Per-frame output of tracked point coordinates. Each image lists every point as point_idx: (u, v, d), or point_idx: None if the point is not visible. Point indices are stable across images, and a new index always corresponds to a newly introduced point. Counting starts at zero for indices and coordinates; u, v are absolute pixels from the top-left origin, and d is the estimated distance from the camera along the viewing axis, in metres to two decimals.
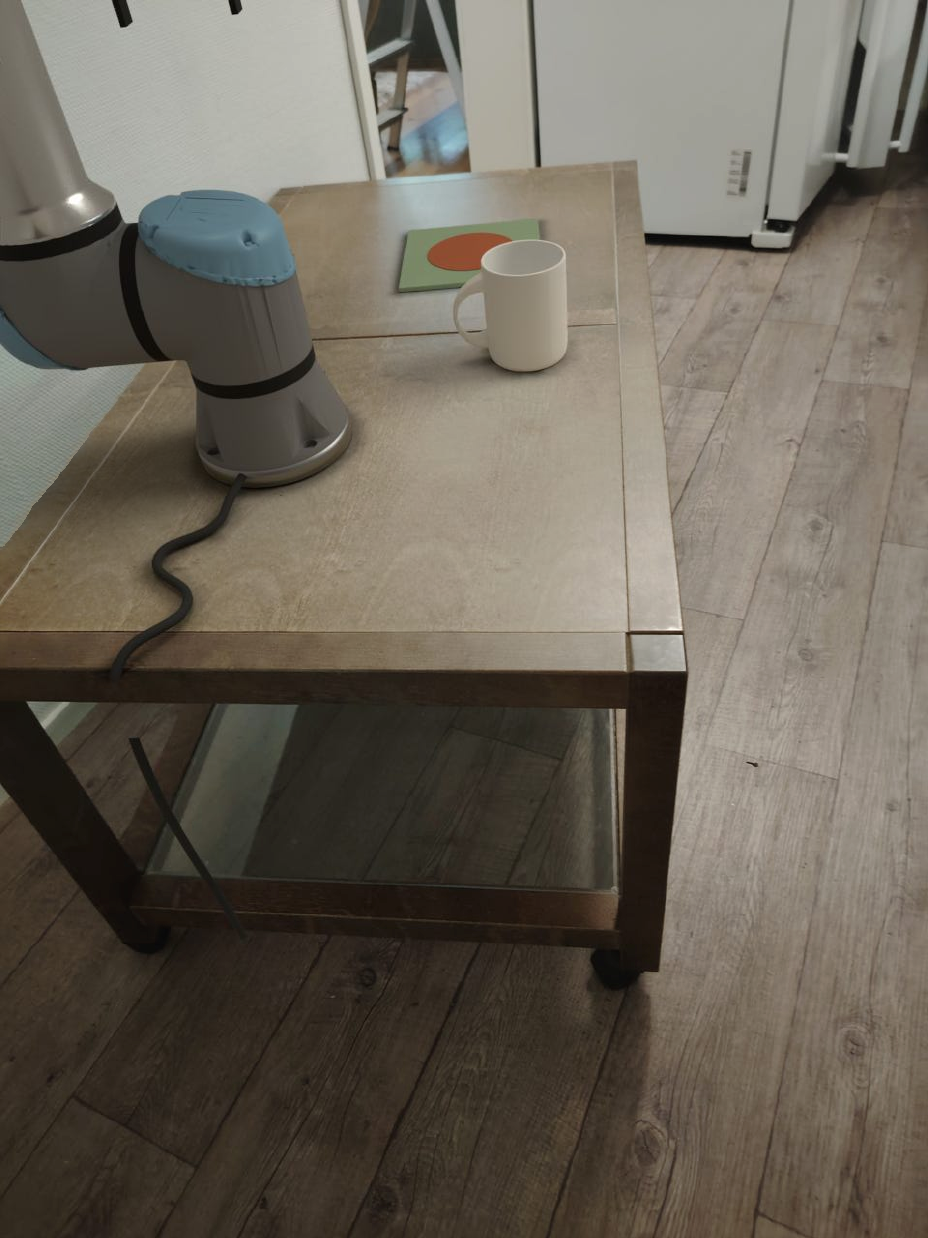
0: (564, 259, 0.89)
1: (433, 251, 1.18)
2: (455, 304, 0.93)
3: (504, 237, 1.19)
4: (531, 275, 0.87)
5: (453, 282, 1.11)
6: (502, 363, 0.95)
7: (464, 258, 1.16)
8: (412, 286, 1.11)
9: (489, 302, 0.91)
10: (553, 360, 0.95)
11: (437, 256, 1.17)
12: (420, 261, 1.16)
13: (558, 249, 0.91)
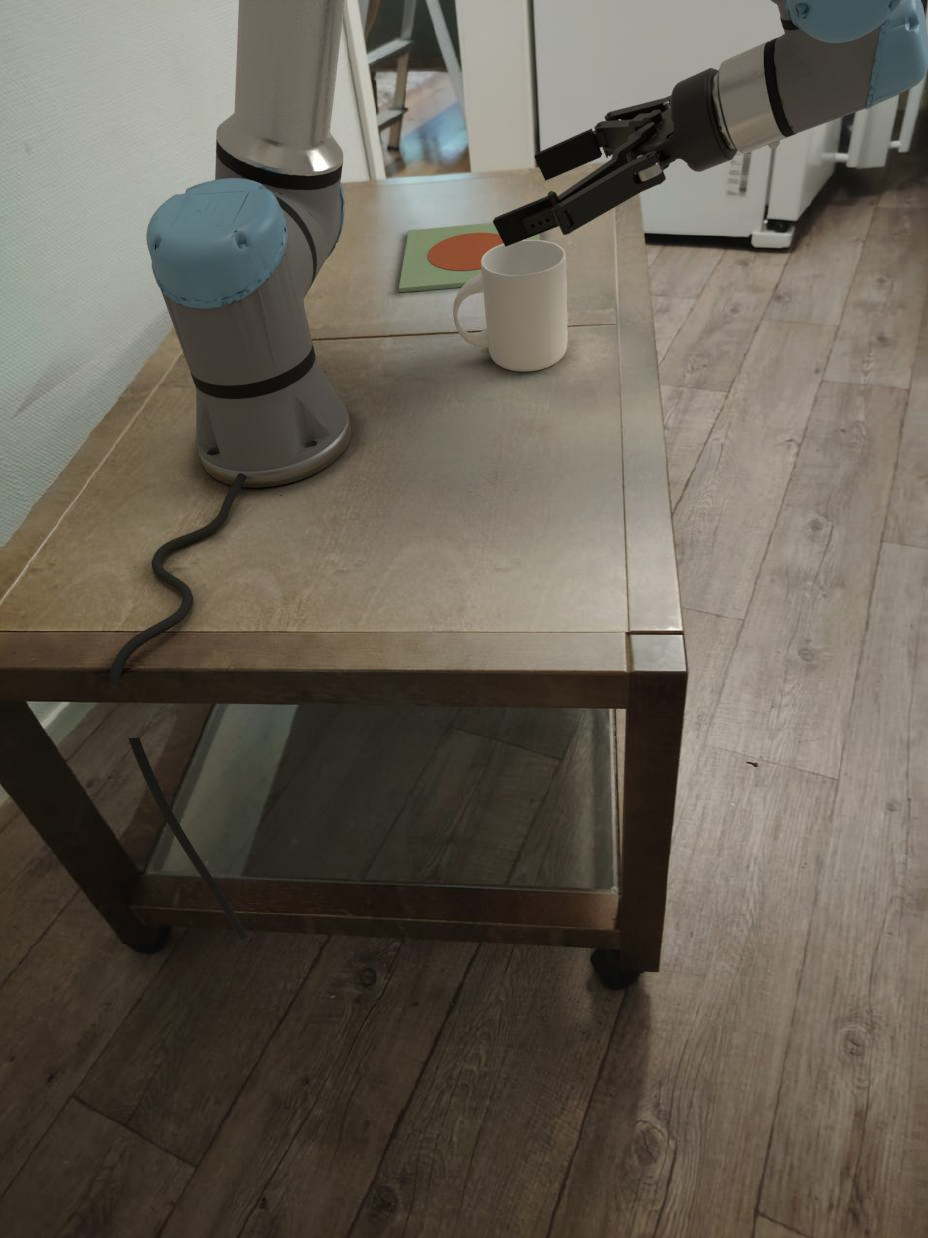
0: (564, 259, 0.89)
1: (433, 251, 1.18)
2: (455, 304, 0.93)
3: None
4: (531, 275, 0.87)
5: (453, 282, 1.11)
6: (502, 363, 0.95)
7: (464, 258, 1.16)
8: (412, 286, 1.11)
9: (489, 302, 0.91)
10: (553, 360, 0.95)
11: (437, 256, 1.17)
12: (420, 261, 1.16)
13: (558, 249, 0.91)
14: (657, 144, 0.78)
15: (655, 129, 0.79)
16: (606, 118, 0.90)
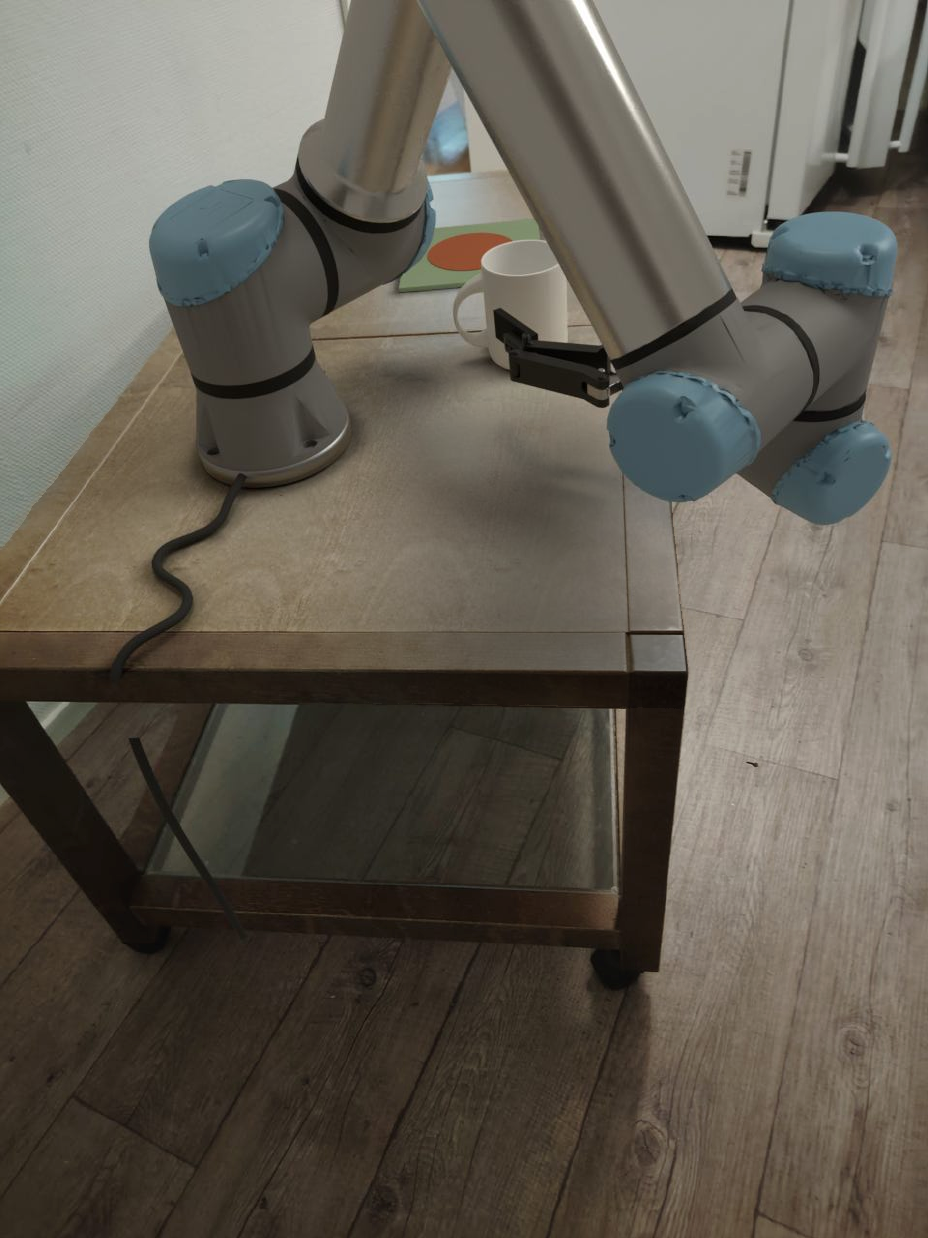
0: None
1: (433, 251, 1.18)
2: (455, 304, 0.93)
3: (504, 237, 1.19)
4: (531, 275, 0.87)
5: (453, 282, 1.11)
6: (502, 363, 0.95)
7: (464, 258, 1.16)
8: (412, 286, 1.11)
9: (489, 302, 0.91)
10: None
11: (437, 256, 1.17)
12: (420, 261, 1.16)
13: None
14: None
15: None
16: None
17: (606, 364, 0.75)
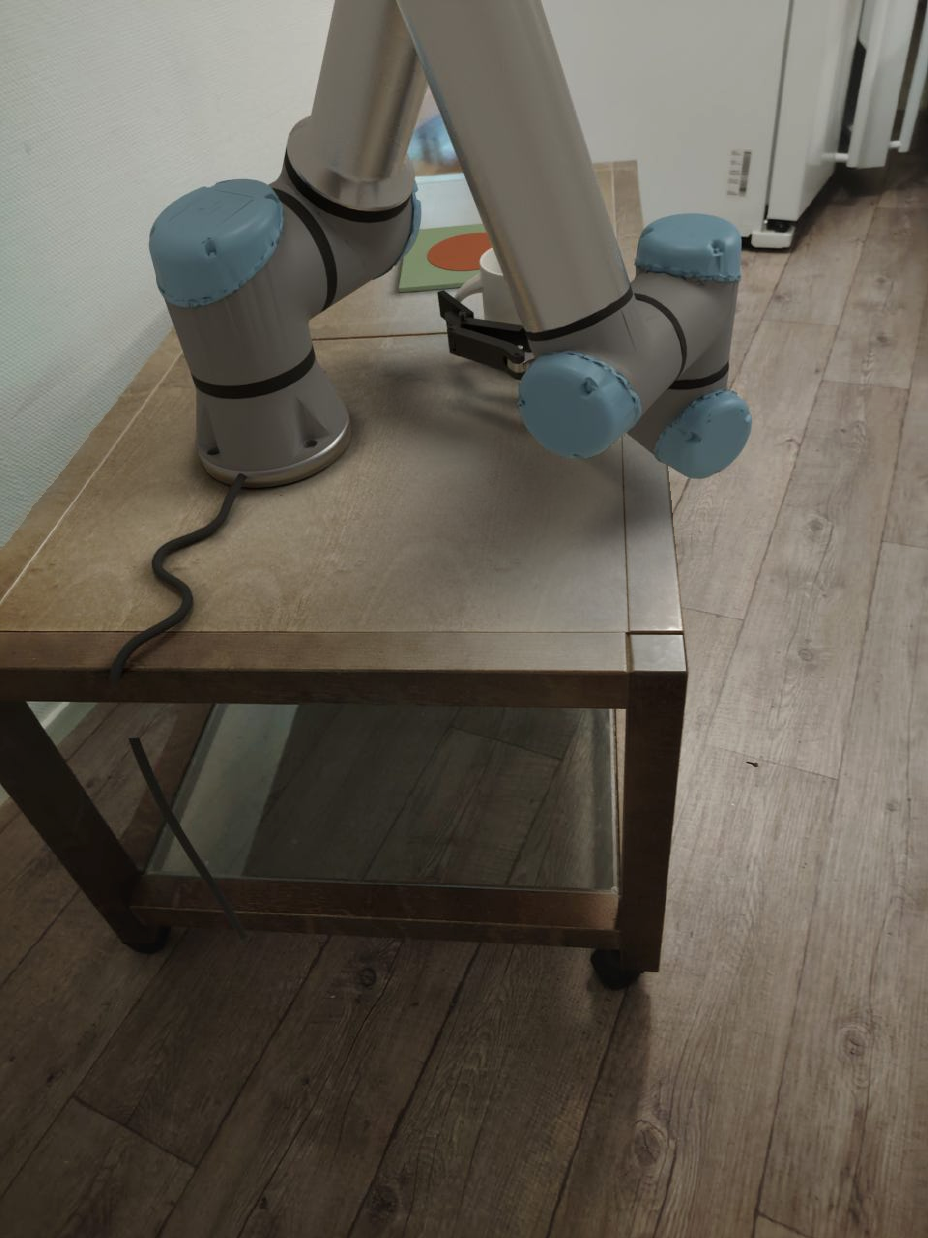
0: None
1: (433, 251, 1.18)
2: None
3: None
4: None
5: (453, 282, 1.11)
6: None
7: (464, 258, 1.16)
8: (412, 286, 1.11)
9: (488, 302, 0.91)
10: None
11: (437, 256, 1.17)
12: (420, 261, 1.16)
13: None
14: None
15: None
16: None
17: (527, 342, 0.86)
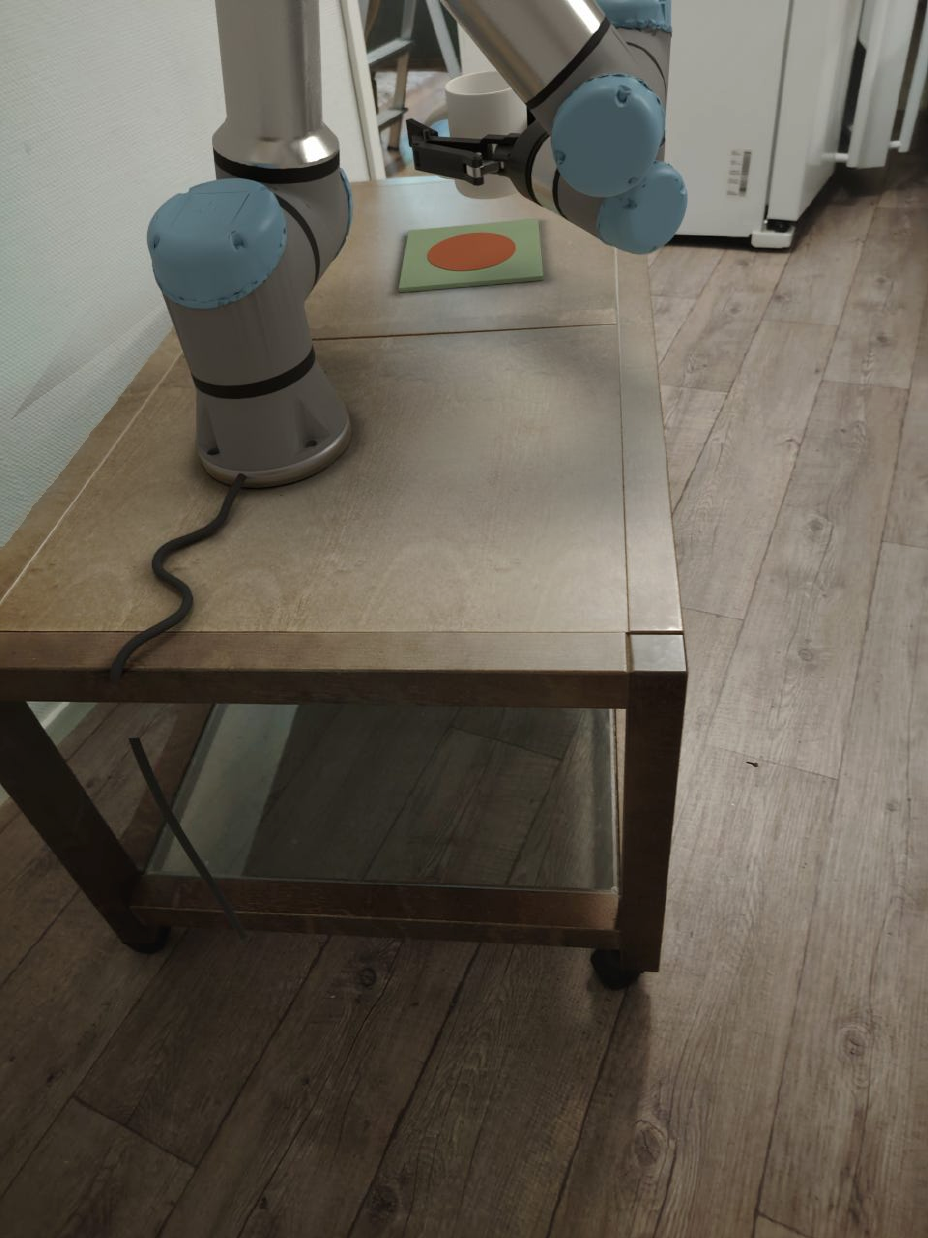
0: None
1: (433, 251, 1.18)
2: None
3: (504, 237, 1.19)
4: (491, 93, 0.92)
5: (453, 282, 1.11)
6: (466, 191, 1.00)
7: (464, 258, 1.16)
8: (412, 286, 1.11)
9: (453, 127, 0.96)
10: (515, 188, 1.00)
11: (437, 256, 1.17)
12: (420, 261, 1.16)
13: None
14: (499, 155, 0.88)
15: None
16: None
17: (487, 154, 0.91)
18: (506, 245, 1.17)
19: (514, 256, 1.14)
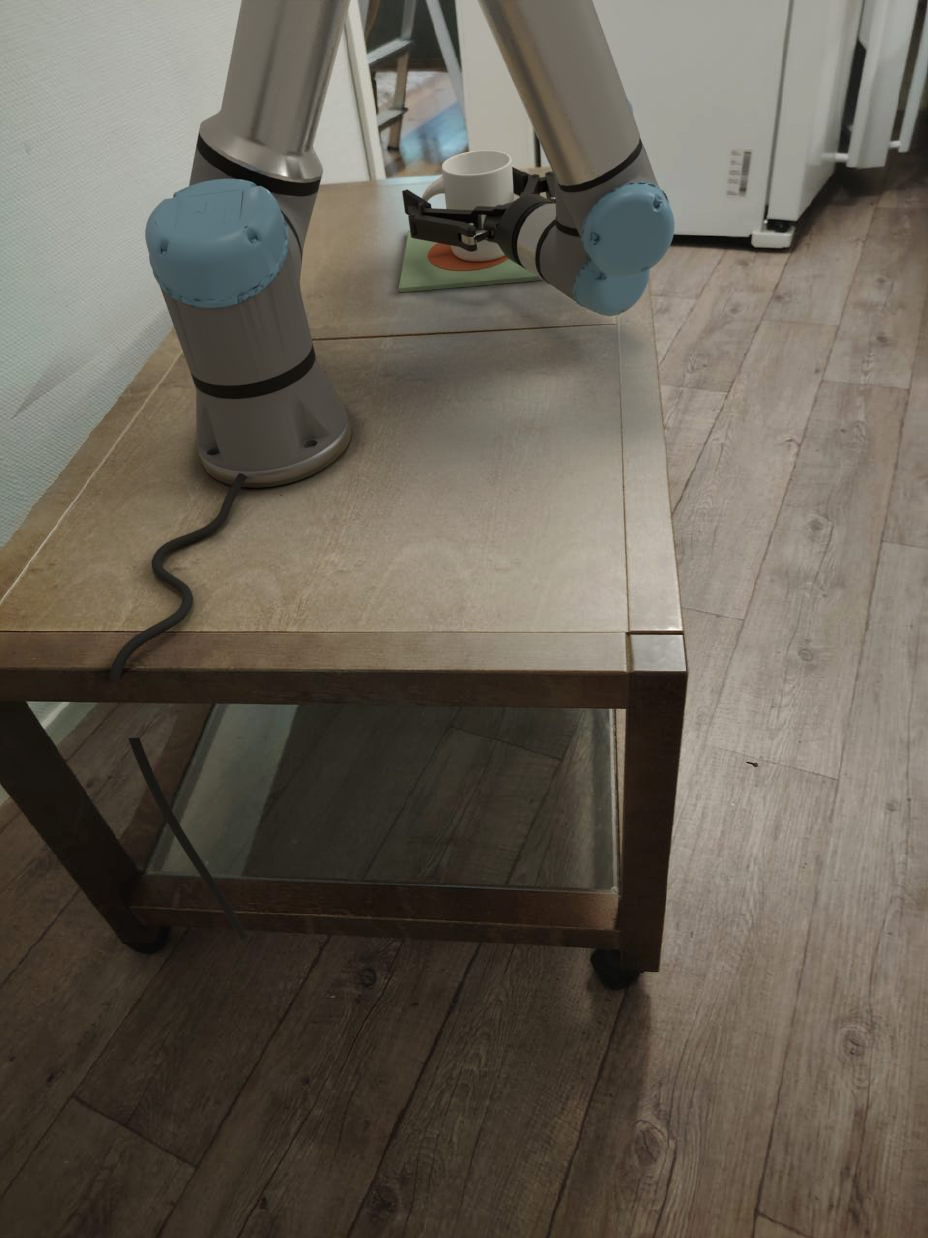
0: (510, 163, 1.08)
1: (433, 251, 1.18)
2: None
3: None
4: (482, 174, 1.06)
5: (453, 282, 1.11)
6: (461, 255, 1.14)
7: None
8: (412, 286, 1.11)
9: (449, 200, 1.10)
10: None
11: (437, 256, 1.17)
12: (420, 261, 1.16)
13: (506, 156, 1.10)
14: (488, 225, 1.02)
15: (504, 213, 1.02)
16: None
17: (477, 223, 1.04)
18: None
19: None
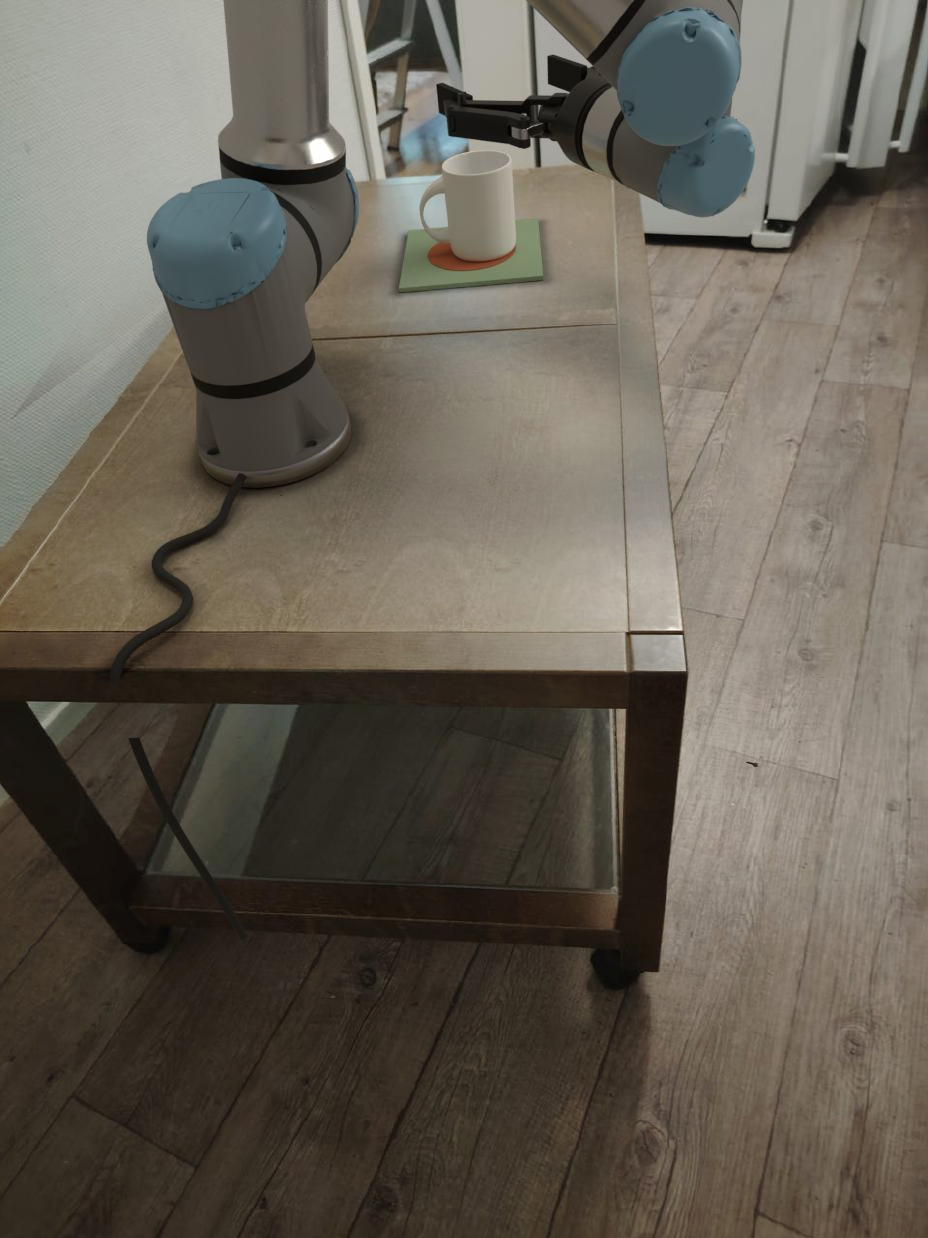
0: (510, 163, 1.08)
1: (433, 251, 1.18)
2: (421, 203, 1.12)
3: None
4: (482, 174, 1.06)
5: (453, 282, 1.11)
6: (461, 255, 1.14)
7: None
8: (412, 286, 1.11)
9: (449, 200, 1.10)
10: (503, 252, 1.14)
11: (437, 256, 1.17)
12: (420, 261, 1.16)
13: (506, 156, 1.10)
14: (545, 115, 0.83)
15: (564, 102, 0.84)
16: None
17: (530, 116, 0.86)
18: None
19: (514, 256, 1.14)
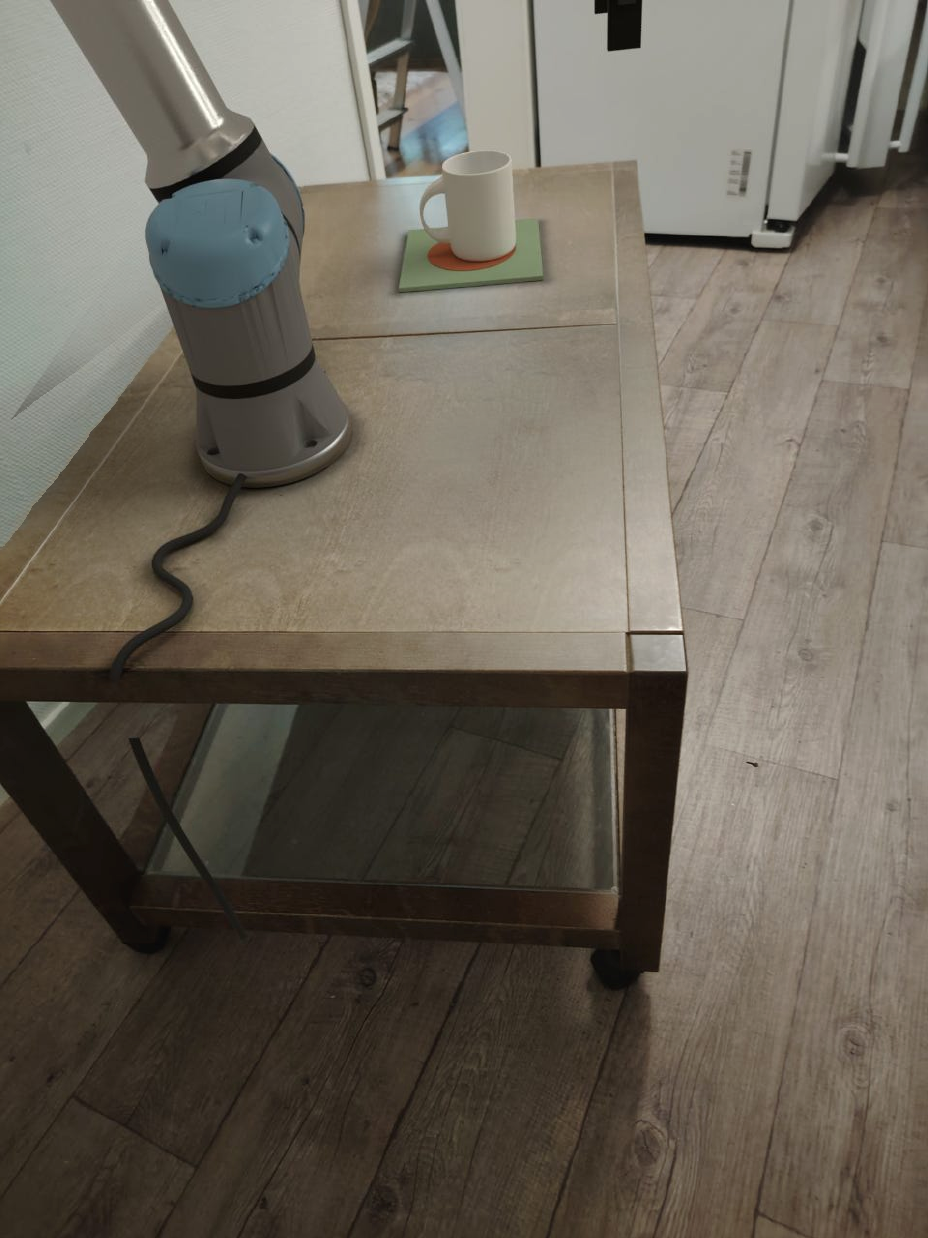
0: (510, 163, 1.08)
1: (433, 251, 1.18)
2: (421, 203, 1.12)
3: None
4: (482, 174, 1.06)
5: (453, 282, 1.11)
6: (461, 255, 1.14)
7: None
8: (412, 286, 1.11)
9: (449, 200, 1.10)
10: (503, 252, 1.14)
11: (437, 256, 1.17)
12: (420, 261, 1.16)
13: (506, 156, 1.10)
14: None
15: None
16: None
17: None
18: None
19: (514, 256, 1.14)
